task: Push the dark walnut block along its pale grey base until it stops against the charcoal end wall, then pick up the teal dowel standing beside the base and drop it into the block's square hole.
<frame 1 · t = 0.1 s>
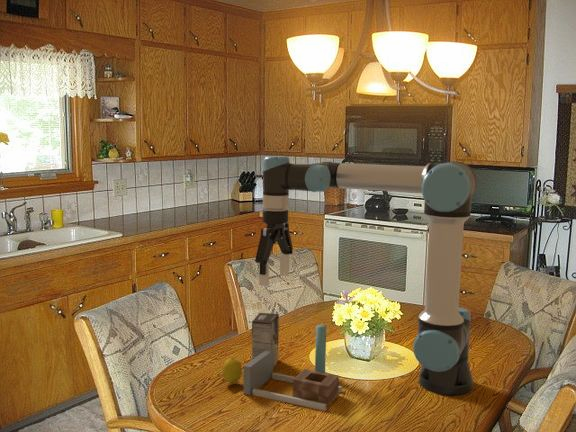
hand: (274, 280, 181), 28 cm above the table, tool pointing down, fingers open, 13 cm apart
coffee box: (265, 368, 187), on the table
dowel: (319, 378, 179), on the table
slide base: (294, 396, 167), on the table
lemon: (232, 384, 174), on the table
socket block: (315, 387, 164), point 4 cm above the table, slide at 11.0 cm
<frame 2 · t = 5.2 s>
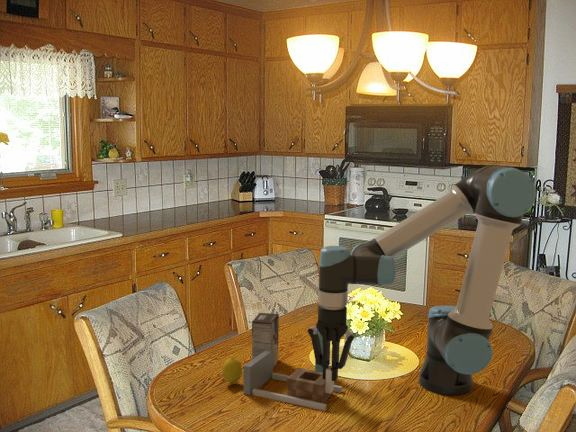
hand: (329, 391, 162), 4 cm above the table, tool pointing down, fingers closed
socket block: (309, 385, 165), point 4 cm above the table, slide at 9.3 cm, touching gripper
everything else where it was.
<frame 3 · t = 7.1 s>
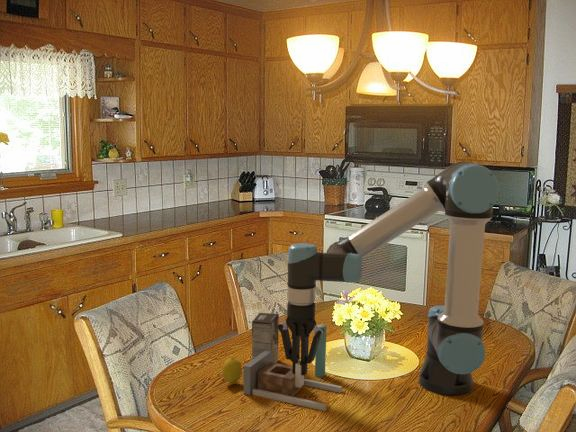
hand: (299, 385, 166), 3 cm above the table, tool pointing down, fingers closed
socket block: (280, 379, 169), point 4 cm above the table, slide at 0.5 cm, touching gripper
everything else where it was.
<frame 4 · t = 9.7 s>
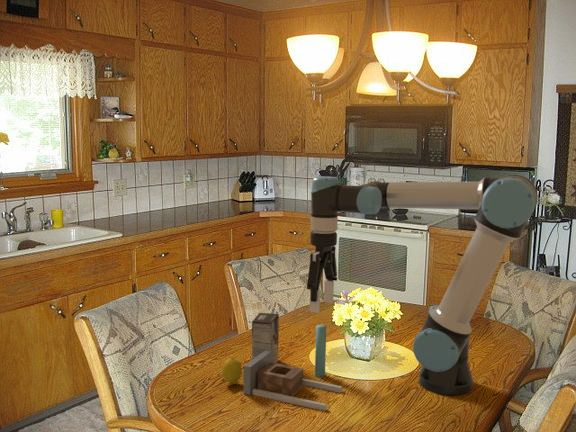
hand: (321, 307, 176), 22 cm above the table, tool pointing down, fingers open, 10 cm apart
socket block: (280, 379, 169), point 4 cm above the table, slide at 0.5 cm
everything else where it was.
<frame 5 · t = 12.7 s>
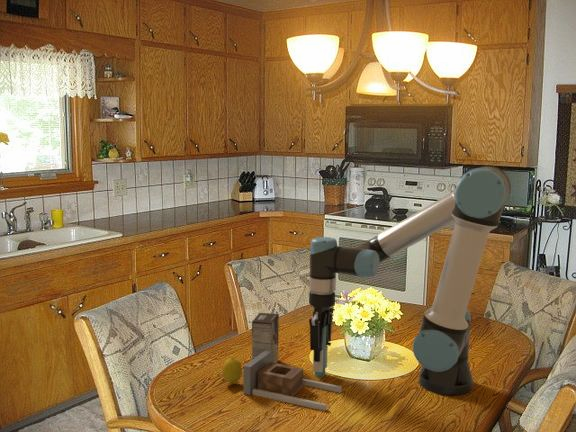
hand: (320, 368, 179), 3 cm above the table, tool pointing down, fingers closed on dowel, 3 cm apart
dowel: (319, 378, 179), on the table, touching gripper
everything else where it was.
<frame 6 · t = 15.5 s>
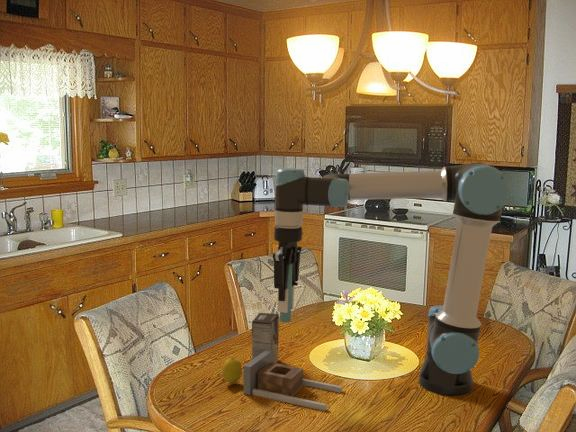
hand: (285, 309, 168), 23 cm above the table, tool pointing down, fingers closed on dowel, 3 cm apart
dowel: (285, 320, 168), point 20 cm above the table, touching gripper
everything else where it was.
when the fingers open (8 cm above the table, at t = 18.7 s): dowel drops 3 cm, resting on socket block.
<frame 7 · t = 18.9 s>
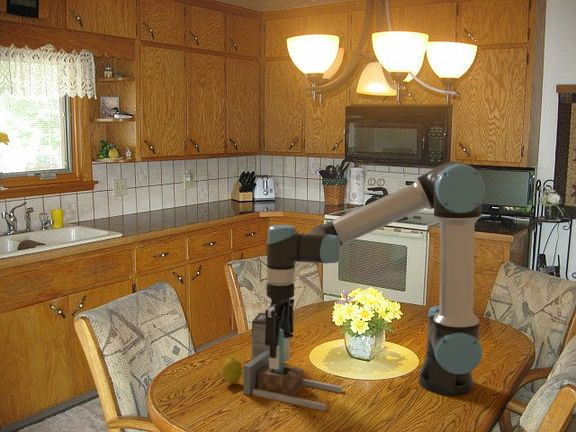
hand: (279, 363, 168), 8 cm above the table, tool pointing down, fingers open, 6 cm apart
dowel: (278, 385, 169), point 2 cm above the table, touching socket block
socket block: (280, 379, 169), point 4 cm above the table, slide at 0.5 cm, touching dowel
everything else where it was.
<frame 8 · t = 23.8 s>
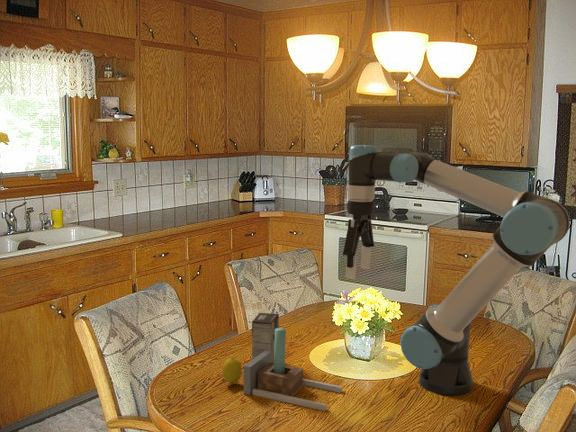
hand: (358, 273, 175), 32 cm above the table, tool pointing down, fingers open, 13 cm apart
at the end: socket block slide at 0.5 cm; dowel 0.5 cm off-centre on the socket block, point 1.1 cm above the socket block's base; dowel tilted 4° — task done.
